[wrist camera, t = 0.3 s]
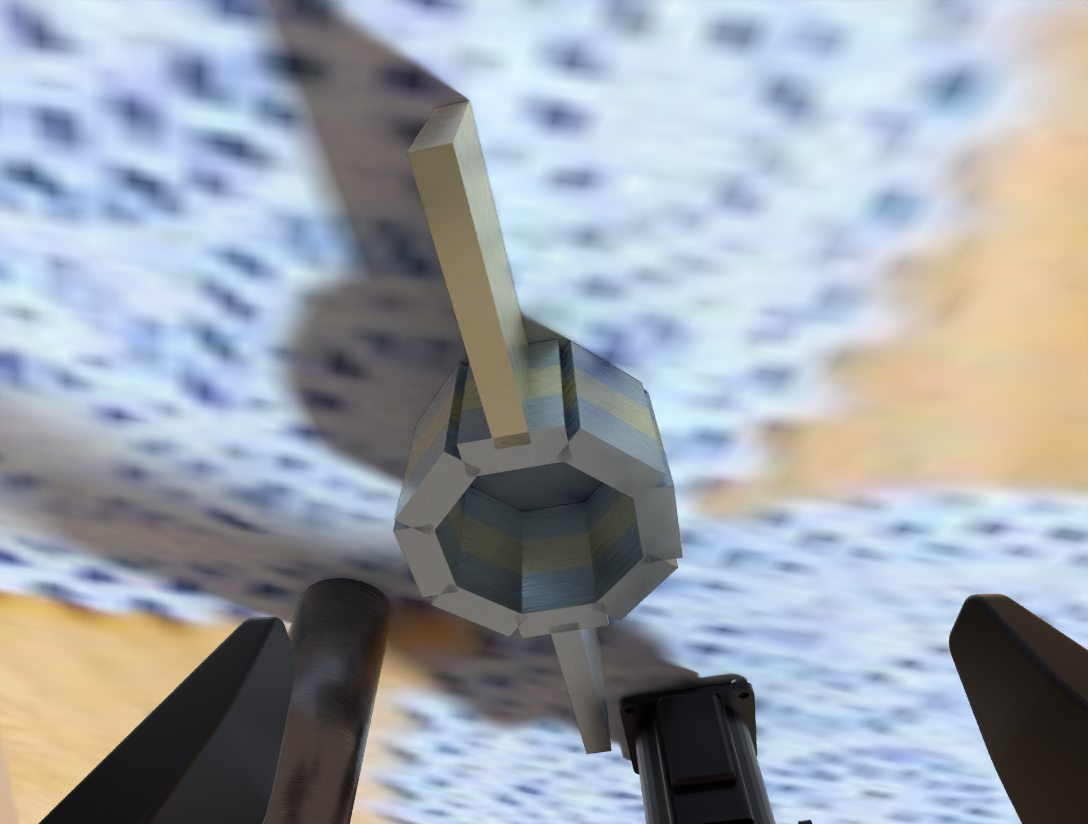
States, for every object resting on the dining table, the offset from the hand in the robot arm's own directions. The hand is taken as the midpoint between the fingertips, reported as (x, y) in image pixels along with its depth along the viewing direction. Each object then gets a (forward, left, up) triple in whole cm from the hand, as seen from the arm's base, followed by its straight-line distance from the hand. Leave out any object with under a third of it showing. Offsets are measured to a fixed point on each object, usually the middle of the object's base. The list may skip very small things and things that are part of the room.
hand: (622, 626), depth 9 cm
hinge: (-7, +2, -14) cm, 16 cm away
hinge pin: (-14, +12, -14) cm, 24 cm away
